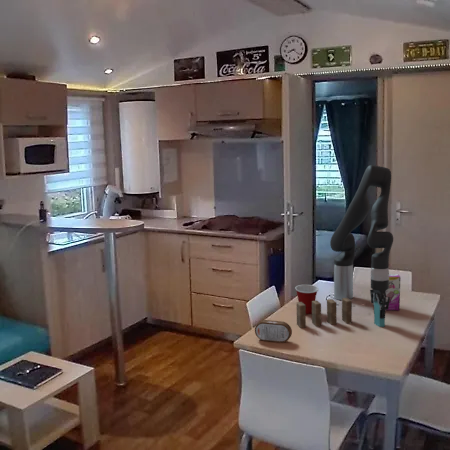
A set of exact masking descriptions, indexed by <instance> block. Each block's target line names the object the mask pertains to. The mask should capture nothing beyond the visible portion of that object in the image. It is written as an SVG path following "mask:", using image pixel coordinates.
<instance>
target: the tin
mask: <svg viewBox="0 0 450 450" xmlns="http://www.w3.org/2000/svg"><path fill="white" fill-rule="evenodd" d="M254 332H255V333H254V334H255V336H256V337H257V338H258V339H259V340H260V341H263V342H274V343H285V342H288V341H289V340H290V338H291V337H292V333H293V329H292V327H291V326H290V324H289V323H287V322H285V321H282V320H281V321H280V320H271V319H270V320H269V319H262V320H260V321H258V322H257V323H256V325H255V327H254Z"/></svg>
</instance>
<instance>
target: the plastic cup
mask: <svg viewBox="0 0 450 450" xmlns="http://www.w3.org/2000/svg"><path fill="white" fill-rule="evenodd" d="M294 289H295V291H296V295H297V302H302V303H304V304H305V305H306V315H310V314H311V315H312V301H316V298H317V294H318V292H319V287H318V286H316V285H314V284H299V285H296V286H295V287H294Z"/></svg>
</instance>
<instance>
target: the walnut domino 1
mask: <svg viewBox="0 0 450 450" xmlns="http://www.w3.org/2000/svg"><path fill="white" fill-rule="evenodd" d="M306 315H307V314H306V305H305V304H304V303H302V302H298V301H297V302H296V326H297V327H298V328H300V329H305V327H306V325H307V322H306V321H307V320H306V319H307V318H306V317H307V316H306ZM306 328H307V327H306Z"/></svg>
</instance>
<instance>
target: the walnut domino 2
mask: <svg viewBox="0 0 450 450" xmlns="http://www.w3.org/2000/svg"><path fill="white" fill-rule="evenodd" d="M311 323H312V324H313V325H314V326H315V327H322V303H321V302H319V301H318V300H315V301H312V313H311Z"/></svg>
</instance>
